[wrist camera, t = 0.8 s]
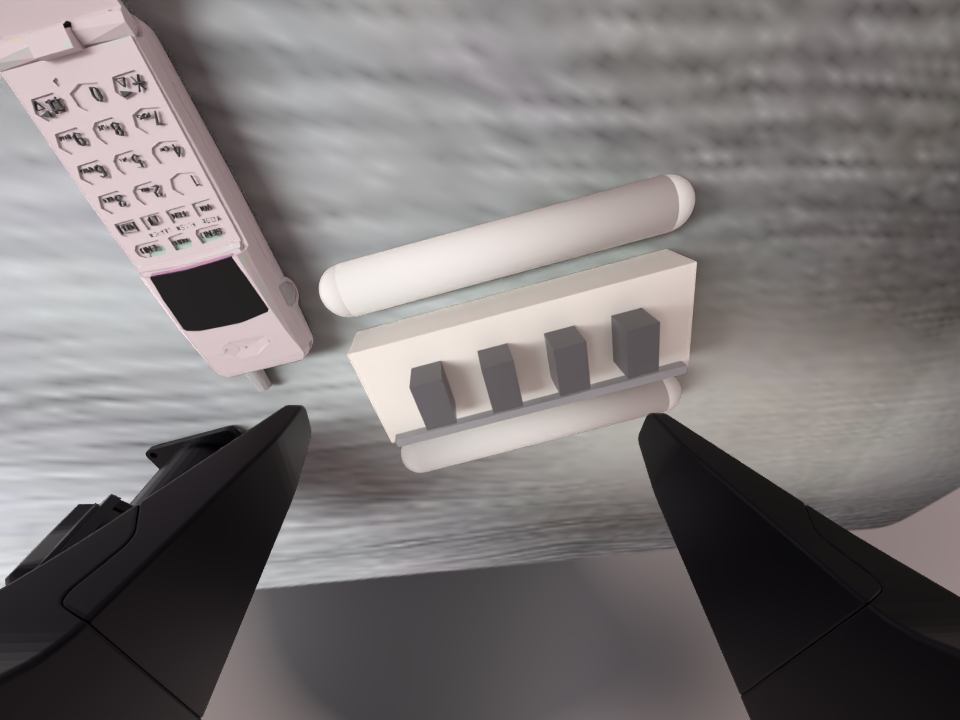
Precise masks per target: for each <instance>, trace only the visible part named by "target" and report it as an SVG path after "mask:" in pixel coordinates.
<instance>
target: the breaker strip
mask: <svg viewBox="0 0 960 720" xmlns="http://www.w3.org/2000/svg"><path fill="white" fill-rule="evenodd" d="M696 267H697V262H696V261H694V260H692V259H689V258H687V257H685V256H682V255H680V254H678V253H675V252H673V251H671V250H668V249H664V250H660V251H657V252H653V253H649V254H645V255H642V256H638V257H634V258H630V259H627V260H623V261H619V262H615V263H612V264H608V265H604V266H600V267H597V268H593V269H589V270H586V271H582V272H578V273H574V274H571V275H567V276H563V277H559V278H556V279H552V280H548V281H544V282H541V283H537V284H533V285H529V286H526V287H522V288H518V289H515V290H511V291H507V292H503V293H500V294H496V295H492V296H488V297H485V298H481V299H477V300H473V301H470V302H466V303H462V304H458V305H455V306H451V307H447V308H444V309H440V310H436V311H432V312H429V313H425V314H421V315H417V316H414V317H410V318H406V319H402V320H399V321H395V322H391V323H387V324H384V325H380V326H376V327H373V328H369V329H365V330H361V331H358V332H357V333H356V335H355V338H354V340H353V342H352V345H351V347H350V349H349V352H348V354H347V355H348V357H349V359H350V361H351V363H352V365H353V367H354V369H355V371H356V373H357V375H358V377H359V379H360V381H361V383H362V385H363V387H364V389H365V391H366V393H367V395H368V397H369V399H370V401H371V403H372V405H373V407H374V409H375V411H376V413H377V415H378V417H379V419H380V421H381V423H382V425H383V427H384V429H385V431H386V433H387V435H388V437H389V439H390V441H391V443H394V442H396V444H397V446H398V447H402V446H406V445H410V444H414V443H418V442H422V441H426V440H429V439H433V438H437V437H441V436H445V435H449V434H453V433H457V432H461V431H464V430H468V429H472V428H476V427H480V426H484V425H488V424H492V423H495V422H499V421H503V420H507V419H511V418H515V417H519V416H523V415H527V414H530V413H534V412H538V411H542V410H546V409H550V408H554V407H558V406H561V405H565V404H569V403H573V402H577V401H581V400H585V399H589V398H593V397H596V396H600V395H604V394H608V393H612V392H616V391H620V390H624V389H627V388H631V387H635V386H639V385H643V384H647V383H651V382H655V381H659V380H662V379H666V378H670V377H674V376H678V375H682V374H686V373H687V367H688V366H689V354H690V342H691V329H692V317H693V304H694V292H695V279H696Z"/></svg>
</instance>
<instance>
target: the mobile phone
mask: <svg viewBox="0 0 960 720" xmlns="http://www.w3.org/2000/svg"><path fill="white" fill-rule="evenodd" d="M0 73H1V75H2V76H3V77H4V79H5V80H6V82H7V83H8V85H9V86H10V87H11V89H12V90H13V92H14V93H15V95H16V96H17V97H18V99H19V100H20V102H21V103H22V105H23V106H24V108H25V109H26V111H27V112H28V114H29V115H30V117H31V118H32V119H33V121H34V122H35V124H36V125H37V127H38V128H39V130H40V131H41V133H42V134H43V136H44V137H45V139H46V140H47V142H48V143H49V144H50V146H51V147H52V149H53V150H54V152H55V153H56V155H57V156H58V158H59V159H60V161H61V162H62V164H63V165H64V166H65V168H66V169H67V171H68V172H69V174H70V175H71V177H72V178H73V180H74V181H75V183H76V184H77V186H78V187H79V188H80V190H81V191H82V193H83V194H84V196H85V197H86V199H87V200H88V202H89V203H90V205H91V206H92V207H93V209H94V210H95V212H96V213H97V214H98V216H99V217H100V219H101V220H102V221H103V223H104V224H105V226H106V227H107V228H108V230H109V231H110V233H111V234H112V235H113V237H114V238H115V240H116V241H117V242H118V244H119V245H120V247H121V248H122V249H123V251H124V252H125V254H126V255H127V256H128V258H129V259H130V261H131V262H132V263H133V265H134V266H135V267H136V269H137V270H138V272H139V276H140V278H141V279H142V280H143V282H144V283H145V284H146V286H147V287H148V288H149V290H150V291H151V292H152V294H153V295H154V296H155V298H156V299H157V300H158V302H159V303H160V304H161V306H162V307H163V308H164V310H165V311H166V312H167V314H168V315H169V316H170V318H171V319H172V320H173V322H174V323H175V324H176V326H177V327H178V328H179V330H180V331H181V332H182V333H183V335H184V336H185V337H186V338H187V339H188V341H189V342H190V343H191V344H192V345H193V346H194V348H195V349H196V350H197V351H198V352H199V353H200V355H201V356H202V357H203V358H204V359H205V361H206V362H207V363H208V364H209V365H210V366H211V368H212V369H213V370H214V371H215V372H216V373H217V374H219V375H221V376H224V377H234V376H238V375H242V374H246V376H247V377H248V378H249V379H250V381H251V382H252V383H253V384H254V386H255V387H256V388H257V390H258V391H265V390H267V389H269V388H270V386H271V383H270V381H269V379H268V377H267V375H266V374H265V372H264V370H263V369H266V368H270V367H275V366H279V365H283V364H287V363H291V362H295V361H299V360H302V359H303V358H304V357H305V356H306V355H307V354H308V353H309V350H310V349H311V348H312V344H313V336H312V334H311V331H310V329H309V327H308V325H307V323H306V320H305V318H304V316H303V314H302V312H301V309H300V307H299V305H298V301H299V293H298V289H297V288H296V286H295V284H294V283H293V281H292V280H291V279H289V278H288V277H284V275H283V273H282V271H281V269H280V267H279V265H278V263H277V261H276V259H275V257H274V255H273V253H272V251H271V250H270V248H269V246H268V244H267V242H266V240H265V238H264V236H263V234H262V232H261V230H260V228H259V226H258V224H257V222H256V220H255V218H254V216H253V215H252V213H251V211H250V209H249V207H248V205H247V203H246V201H245V199H244V197H243V195H242V193H241V191H240V189H239V187H238V185H237V183H236V181H235V180H234V178H233V176H232V174H231V172H230V170H229V168H228V167H227V165H226V163H225V161H224V159H223V157H222V156H221V154H220V152H219V150H218V148H217V146H216V145H215V143H214V141H213V139H212V137H211V135H210V133H209V132H208V130H207V128H206V126H205V124H204V122H203V121H202V119H201V117H200V115H199V113H198V111H197V109H196V108H195V106H194V104H193V102H192V100H191V98H190V97H189V95H188V93H187V91H186V89H185V87H184V85H183V84H182V82H181V80H180V78H179V76H178V74H177V73H176V71H175V69H174V67H173V65H172V63H171V61H170V60H169V58H168V56H167V54H166V52H165V50H164V49H163V47H162V45H161V43H160V41H159V39H158V38H157V36H156V35H155V33H154V32H153V30H152V29H151V28H150V27H149V26H147V25H146V24H145V23H144V22H142V21H141V20H140V19H138V18H137V17H135V16H134V15H133V14H131V13H129V12H128V10H127V9H126V7H125V6H124V4H123V3H122V1H121V0H0Z"/></svg>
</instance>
